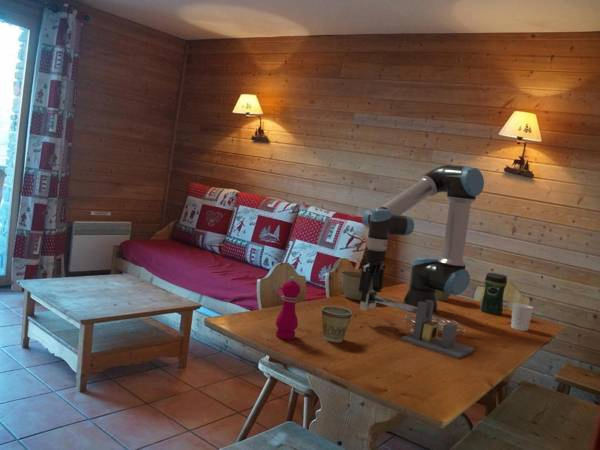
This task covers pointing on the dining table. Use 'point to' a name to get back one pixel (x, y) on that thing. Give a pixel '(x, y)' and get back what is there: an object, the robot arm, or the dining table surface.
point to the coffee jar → (494, 293)
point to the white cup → (521, 316)
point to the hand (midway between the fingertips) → (367, 308)
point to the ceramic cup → (335, 322)
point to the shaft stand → (441, 344)
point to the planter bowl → (352, 284)
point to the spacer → (430, 331)
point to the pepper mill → (288, 310)
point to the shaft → (390, 302)
